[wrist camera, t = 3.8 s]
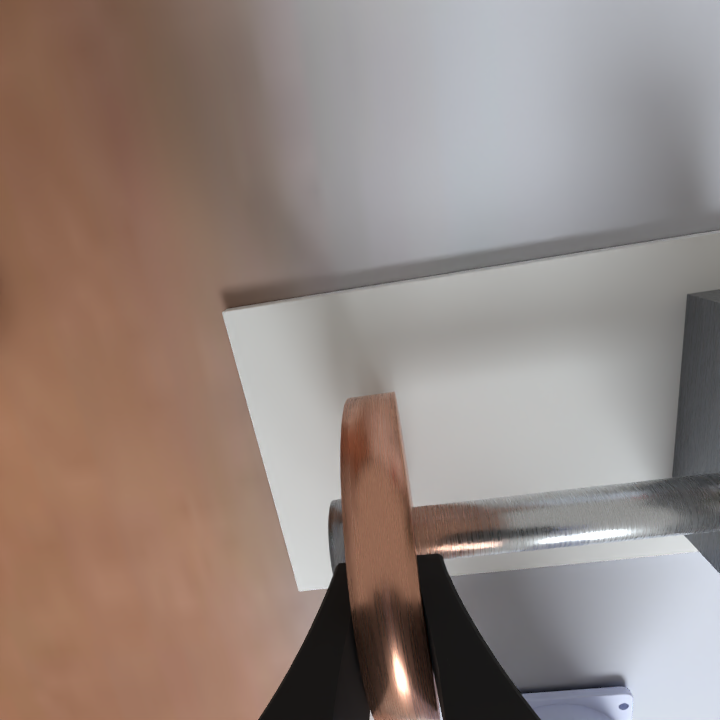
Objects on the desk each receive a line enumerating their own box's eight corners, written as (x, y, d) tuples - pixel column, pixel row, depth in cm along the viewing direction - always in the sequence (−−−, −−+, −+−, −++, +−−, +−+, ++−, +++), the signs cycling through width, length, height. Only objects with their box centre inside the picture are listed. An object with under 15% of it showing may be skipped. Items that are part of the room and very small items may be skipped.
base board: (868, 523, 19) (883, 533, 19) (300, 581, 22) (298, 591, 21) (956, 192, 15) (980, 191, 14) (227, 308, 17) (221, 312, 16)
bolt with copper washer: (726, 510, 18) (1035, 777, 10) (363, 549, 19) (353, 812, 11) (754, 300, 15) (1231, 418, 7) (325, 363, 17) (272, 526, 8)
